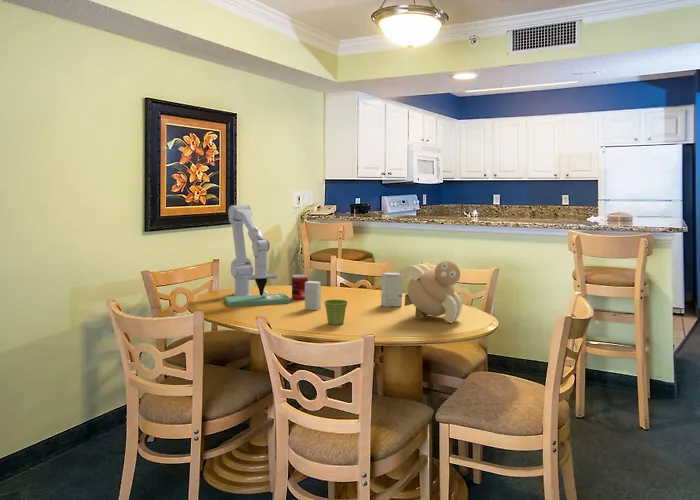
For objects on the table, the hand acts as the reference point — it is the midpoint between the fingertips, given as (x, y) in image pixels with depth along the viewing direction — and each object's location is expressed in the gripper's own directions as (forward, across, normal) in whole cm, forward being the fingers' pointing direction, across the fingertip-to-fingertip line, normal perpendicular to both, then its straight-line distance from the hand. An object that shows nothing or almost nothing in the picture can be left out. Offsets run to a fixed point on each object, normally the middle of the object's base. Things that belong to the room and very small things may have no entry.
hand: (261, 295), depth 255 cm
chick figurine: (+5, +60, -53) cm, 80 cm away
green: (+3, -2, +1) cm, 4 cm away
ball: (0, +1, 0) cm, 1 cm away
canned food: (+3, +19, +4) cm, 20 cm away
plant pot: (+5, +20, -49) cm, 53 cm away
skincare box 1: (+4, +18, -21) cm, 28 cm away
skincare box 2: (+4, +55, -25) cm, 60 cm away
